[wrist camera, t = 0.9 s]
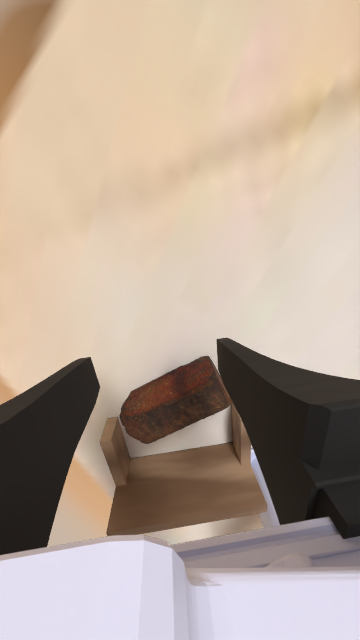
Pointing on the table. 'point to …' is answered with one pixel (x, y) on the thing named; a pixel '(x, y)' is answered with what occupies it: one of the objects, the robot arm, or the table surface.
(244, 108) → the table surface
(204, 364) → the brick
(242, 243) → the table surface
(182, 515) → the book rack
